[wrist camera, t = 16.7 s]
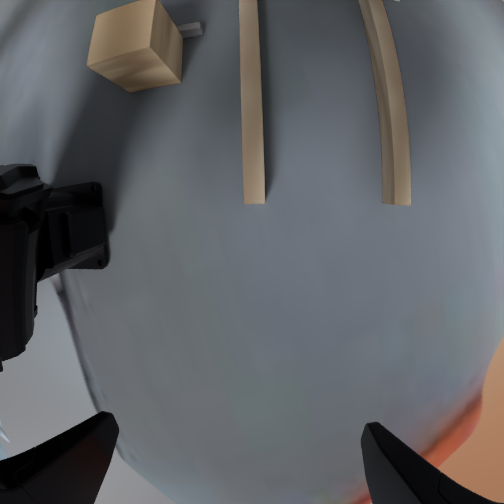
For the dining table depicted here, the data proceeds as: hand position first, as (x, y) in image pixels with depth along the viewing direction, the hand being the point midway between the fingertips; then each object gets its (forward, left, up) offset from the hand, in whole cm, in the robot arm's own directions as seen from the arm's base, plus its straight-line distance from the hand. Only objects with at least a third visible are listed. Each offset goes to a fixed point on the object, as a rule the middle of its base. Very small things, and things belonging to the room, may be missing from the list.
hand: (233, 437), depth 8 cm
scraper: (-6, +18, -12) cm, 22 cm away
